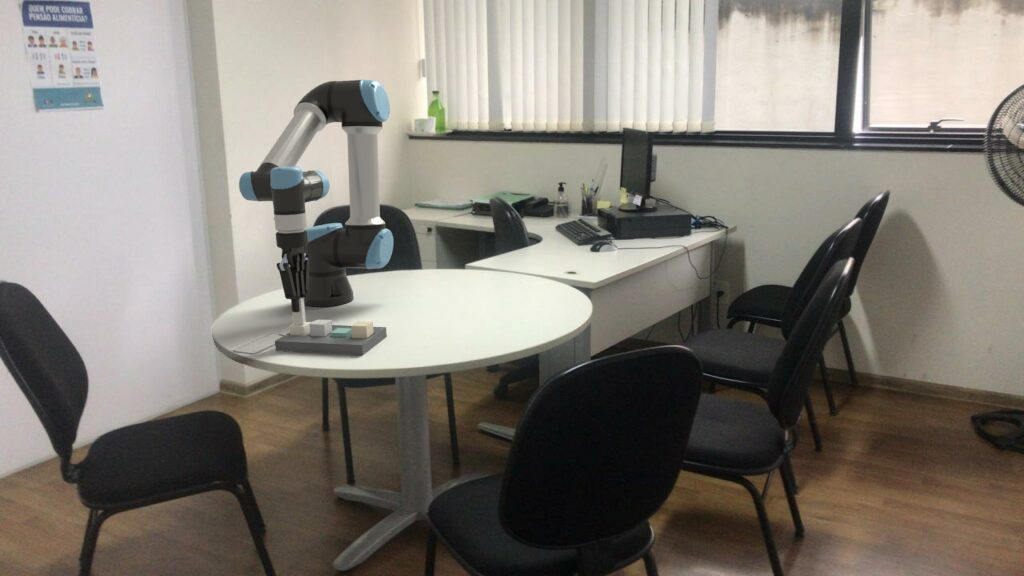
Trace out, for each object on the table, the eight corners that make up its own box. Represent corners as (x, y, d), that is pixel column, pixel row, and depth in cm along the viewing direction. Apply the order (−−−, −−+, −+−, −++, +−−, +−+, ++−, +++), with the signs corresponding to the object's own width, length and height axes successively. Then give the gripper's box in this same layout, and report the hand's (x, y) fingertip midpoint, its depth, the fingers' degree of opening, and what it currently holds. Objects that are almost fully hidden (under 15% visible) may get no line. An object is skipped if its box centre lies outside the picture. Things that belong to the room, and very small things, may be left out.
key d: (358, 333, 199) (357, 321, 198) (373, 333, 198) (372, 321, 198) (352, 337, 195) (351, 325, 195) (367, 338, 194) (366, 326, 194)
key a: (298, 333, 203) (296, 321, 202) (312, 333, 202) (311, 322, 202) (290, 337, 199) (289, 325, 199) (304, 338, 198) (303, 326, 198)
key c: (338, 339, 201) (337, 327, 200) (353, 340, 200) (352, 328, 199) (331, 344, 197) (330, 332, 196) (346, 345, 196) (345, 333, 196)
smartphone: (230, 350, 195) (271, 333, 209) (230, 353, 195) (271, 335, 209) (254, 353, 192) (294, 336, 206) (254, 356, 192) (294, 338, 206)
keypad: (304, 332, 209) (304, 323, 208) (386, 336, 204) (386, 327, 203) (275, 350, 195) (274, 341, 194) (363, 355, 190) (362, 345, 189)
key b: (317, 331, 202) (316, 319, 201) (332, 331, 201) (331, 320, 200) (310, 335, 198) (309, 323, 197) (325, 336, 197) (324, 324, 196)
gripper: (290, 226, 201) (298, 316, 207) (263, 234, 189) (272, 330, 194) (317, 226, 200) (324, 317, 205) (292, 235, 187) (300, 331, 193)
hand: (299, 323), depth 200 cm, fingers closed
